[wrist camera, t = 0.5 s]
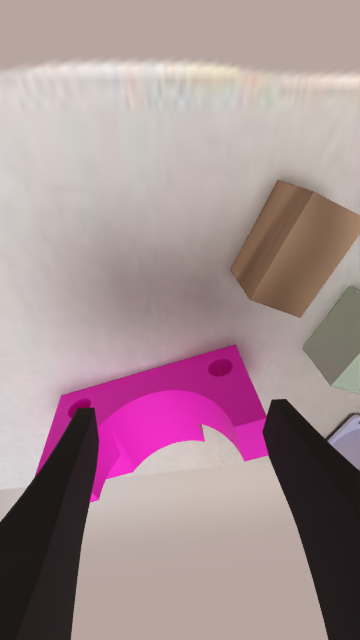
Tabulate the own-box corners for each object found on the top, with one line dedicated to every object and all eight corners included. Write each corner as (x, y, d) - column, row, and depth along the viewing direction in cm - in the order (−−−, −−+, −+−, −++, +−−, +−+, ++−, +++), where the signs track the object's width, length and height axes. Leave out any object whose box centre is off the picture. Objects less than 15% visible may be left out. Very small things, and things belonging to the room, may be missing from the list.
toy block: (94, 437, 28) (79, 525, 22) (61, 393, 25) (33, 481, 18) (247, 394, 27) (278, 473, 21) (234, 342, 24) (267, 417, 17)
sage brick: (382, 299, 23) (430, 332, 19) (334, 357, 26) (367, 396, 22) (348, 285, 22) (391, 316, 18) (301, 347, 25) (330, 385, 21)
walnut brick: (323, 203, 18) (369, 220, 15) (272, 285, 21) (300, 317, 17) (277, 179, 18) (313, 191, 14) (230, 269, 20) (250, 299, 16)
